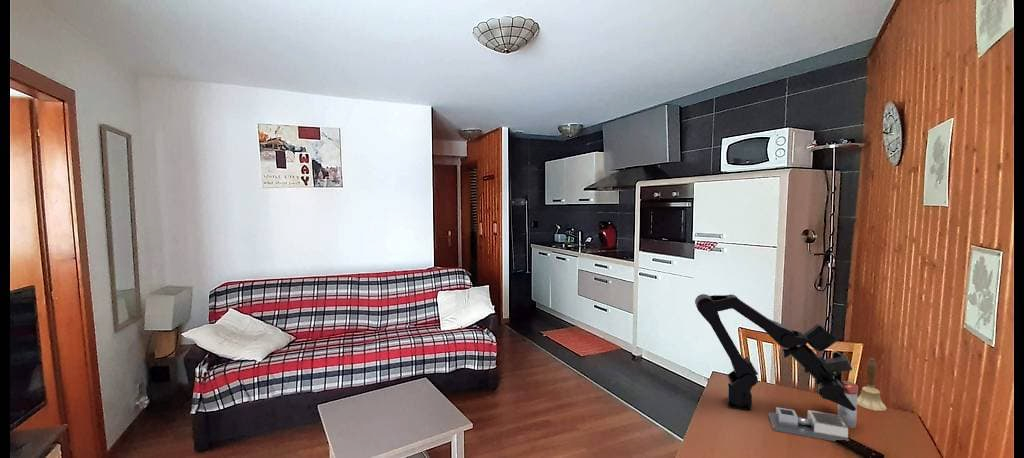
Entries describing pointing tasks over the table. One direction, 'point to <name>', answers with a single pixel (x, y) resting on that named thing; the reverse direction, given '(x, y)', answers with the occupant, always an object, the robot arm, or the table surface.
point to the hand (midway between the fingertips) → (853, 403)
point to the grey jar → (851, 393)
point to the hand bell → (871, 391)
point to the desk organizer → (810, 424)
